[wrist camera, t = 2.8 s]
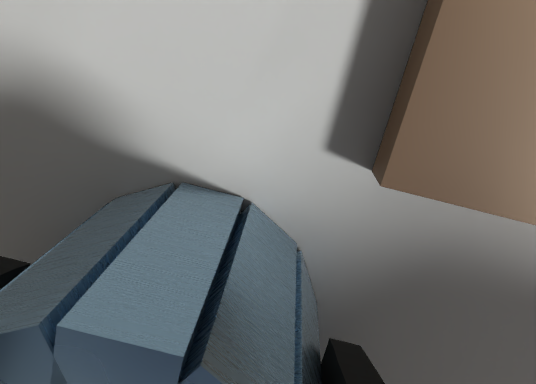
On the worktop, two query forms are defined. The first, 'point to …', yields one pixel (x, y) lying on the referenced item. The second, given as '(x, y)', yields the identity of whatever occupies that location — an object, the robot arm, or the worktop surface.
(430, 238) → the worktop surface
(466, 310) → the worktop surface
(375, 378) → the robot arm
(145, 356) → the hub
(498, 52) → the post board
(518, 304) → the worktop surface
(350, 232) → the worktop surface
